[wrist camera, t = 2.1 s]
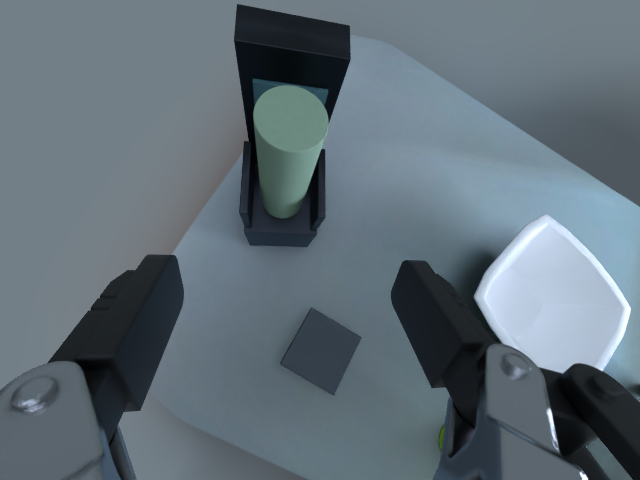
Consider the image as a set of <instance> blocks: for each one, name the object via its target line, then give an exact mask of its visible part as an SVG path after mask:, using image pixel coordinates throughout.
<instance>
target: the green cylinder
mask: <svg viewBox="0 0 640 480" xmlns="http://www.w3.org/2000/svg"><path fill="white" fill-rule="evenodd" d="M253 120H254V130H255V140H256V150H257V159H258V169H259V179H260V189H261V199H262V204H263V207H264V208H265V210H266V211H267V212H268V213H269V214H270V215H272V216H274V217H277V218H289V217H292V216H294V215H295V214H296V213H297V212H298V211H299V210H300V208H301V206H302V203H303V200H304V198H305V195H306V192H307V189H308V186H309V183H310V180H311V177H312V174H313V172H314V169H315V166H316V163H317V160H318V157H319V154H320V151H321V149H322V146H323V143H324V140H325V137H326V134H327V131H328V126H329V120H328V115H327V112H326V109H325V107H324V105H323V104H322V102H321V101H320V100H319V99H318V98H317V97H316V96H315V95H314V94H312V93H311V92H309V91H307V90H305V89H303V88H300V87H297V86H290V85H283V86H277V87H274V88H271V89H269V90H268V91H266V92H265V93H263V94H262V95H261V96H260V98H259V99H258V100H257V102H256V104H255V107H254V112H253Z"/></svg>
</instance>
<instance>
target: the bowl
mask: <svg viewBox="0 0 640 480" xmlns="http://www.w3.org/2000/svg"><path fill="white" fill-rule="evenodd" d="M474 299H475V301H476V303H477V305H478V307H479V308H480V310H481V312H482V314H483V316H484V317H485V319H486V321H487V323H488V325H489V326H490V328H491V329H492V330H493V332H494V333H495V334H496V336H497V337H498V338H499V340H500V341H501V342H502V344H505V345H508V346H511V347H513V348H515V349H517V350H519V351H521V352H522V353H524V354H525V355H526V356H528V357H529V358H530V359H531V360H532V361H533V362H534V363H535V364H536V365H537V366H538V367H540V368H544V369H548V370H552V371H556V372H559V373H564V372H565V371H566V370H567V369H568V368H569V367H571V366H572V365H573V364H575V363H582V364H587V365H590V366H593V367H595V368H597V369H599V370H601V371H603V369H604V368H605V366H606V364H607V363H608V361H609V360H610V358H611V356H612V354H613V353H614V351H615V349H616V347H617V346H618V344H619V342H620V340H621V339H622V337H623V335H624V333H625V330H626V326H627V322H628V319H629V315H630V311H631V308H630V306H629V304H628V303H627V301H626V299H625V298H624V296H623V294H622V293H621V291H620V289H619V288H618V286H617V285H616V283H615V282H614V280H613V279H612V278H611V277H610V275H609V274H608V273H607V272H606V270H605V269H604V268H603V267H602V265H601V264H600V263H599V261H598V260H597V259H596V258H595V256H594V255H593V254H592V253H591V252H590V251H589V250H588V249H587V248H586V247H585V246H584V245H583V244H582V243H581V242H580V241H579V240H578V239H577V238H576V237H575V236H573V235H572V234H571V233H570V232H569V231H568V230H567V229H566V228H565V227H563V226H562V225H560V224H559V223H558V222H556V221H555V220H554V219H552V218H551V217H550V216H548V215H547V214H545V215H542V216H541V217H539V218H537V219H536V220H534V221H532V222H530V223H529V224H527V225H526V226H525V227H524V228H523V229H522V230H521V231H520V232H519V233H518V234H517V235H516V237H515V238H514V239H513V240H512V241H511V242H510V243H509V244H508V245H507V246H506V248H505V249H504V250H503V251H502V252H501V254H500V255H499V256H498V257H497V258H496V259H495V261H494V262H493V263H492V264H491V265H490V267H489V268H488V269H487V270H486V271H485V273H484V275H483V277H482V280H481V282H480V284H479V286H478V288H477V290H476V292H475V294H474Z"/></svg>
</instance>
